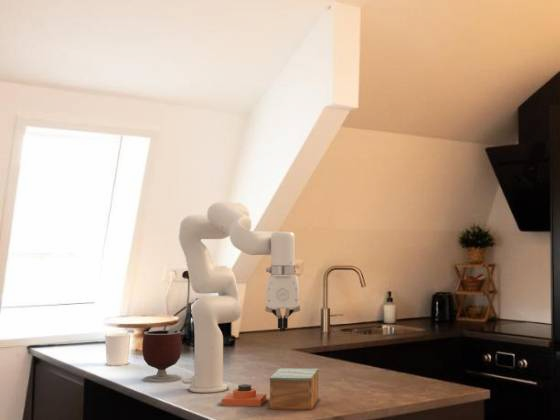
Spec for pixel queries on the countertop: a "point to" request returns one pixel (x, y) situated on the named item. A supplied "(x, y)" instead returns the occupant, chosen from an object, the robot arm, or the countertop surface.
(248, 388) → the button
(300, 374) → the green box lid
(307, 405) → the wooden box
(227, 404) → the button block
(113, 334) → the candle holder
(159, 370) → the mate gourd
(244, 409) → the countertop surface
